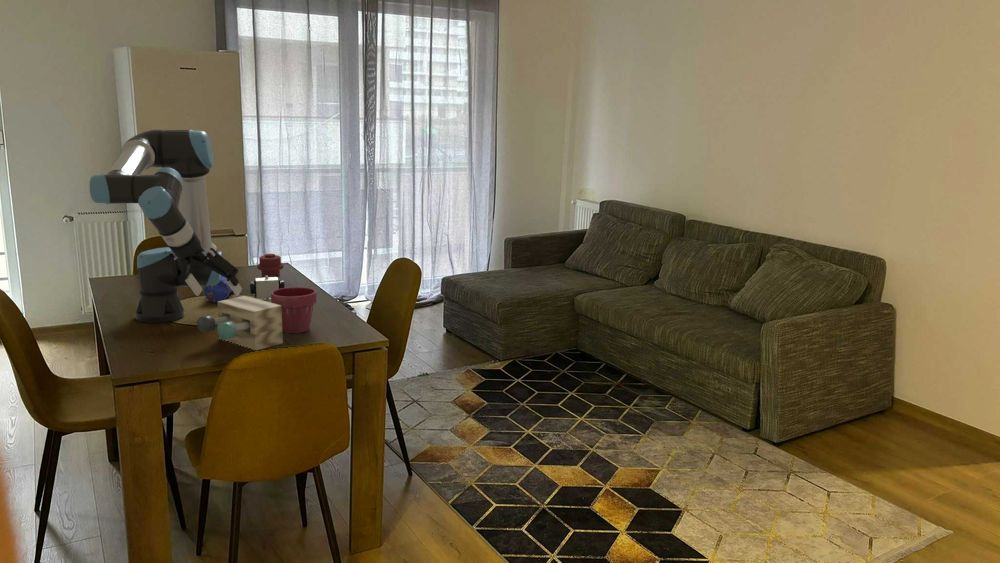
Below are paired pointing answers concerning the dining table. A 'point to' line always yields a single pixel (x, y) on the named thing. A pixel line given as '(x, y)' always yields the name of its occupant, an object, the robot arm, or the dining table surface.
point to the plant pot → (295, 307)
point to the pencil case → (218, 291)
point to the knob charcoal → (210, 322)
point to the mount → (253, 321)
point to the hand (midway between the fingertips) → (219, 292)
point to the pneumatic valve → (265, 287)
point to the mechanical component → (270, 265)
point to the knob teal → (231, 329)
